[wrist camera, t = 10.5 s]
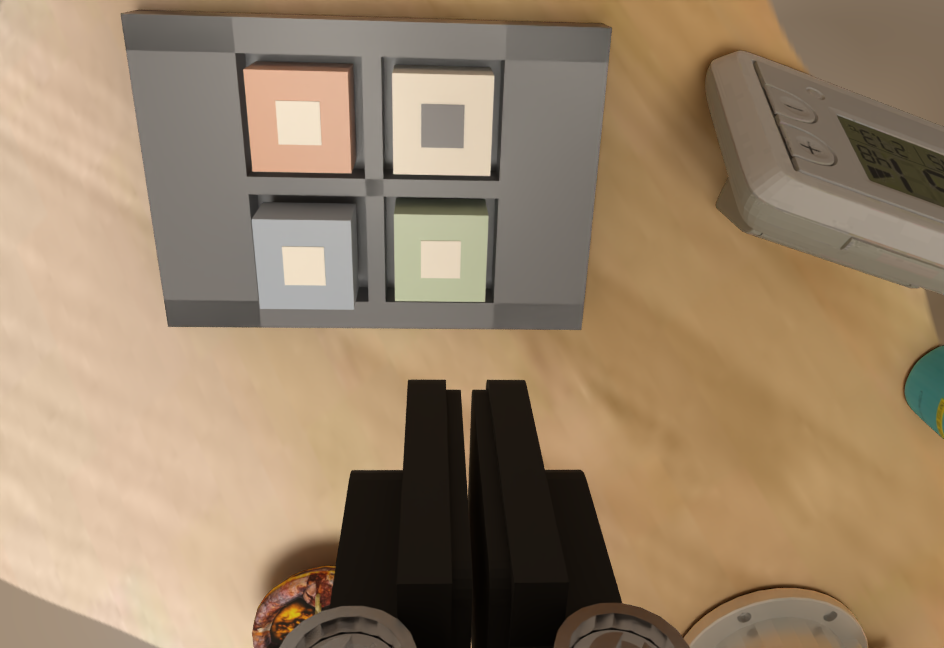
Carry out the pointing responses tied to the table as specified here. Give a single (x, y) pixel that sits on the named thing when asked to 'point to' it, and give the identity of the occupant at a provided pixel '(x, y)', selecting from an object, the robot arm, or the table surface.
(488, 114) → the key ivory
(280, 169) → the key terracotta
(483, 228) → the key sage
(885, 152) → the digital clock
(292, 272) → the key slate
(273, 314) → the keypad frame
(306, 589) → the bird feeder
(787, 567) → the table surface
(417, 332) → the table surface
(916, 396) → the tube
